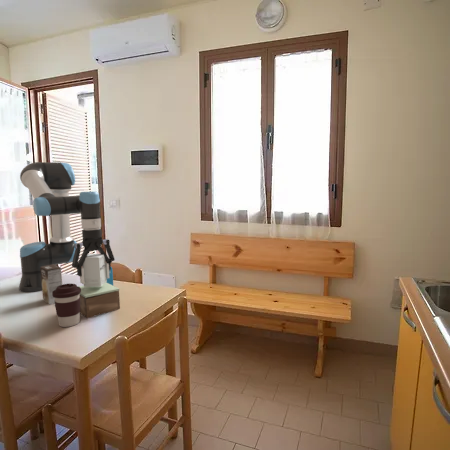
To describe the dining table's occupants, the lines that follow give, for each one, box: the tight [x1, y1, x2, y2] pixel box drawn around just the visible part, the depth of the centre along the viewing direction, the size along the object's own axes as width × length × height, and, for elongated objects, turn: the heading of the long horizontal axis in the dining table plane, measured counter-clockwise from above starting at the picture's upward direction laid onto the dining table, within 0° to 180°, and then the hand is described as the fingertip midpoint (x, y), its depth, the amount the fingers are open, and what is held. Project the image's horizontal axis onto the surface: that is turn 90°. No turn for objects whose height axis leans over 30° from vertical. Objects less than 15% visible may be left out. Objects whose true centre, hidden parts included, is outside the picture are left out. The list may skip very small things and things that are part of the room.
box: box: [80, 290, 121, 319], centre depth 140 cm, size 14×14×8 cm
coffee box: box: [40, 264, 63, 305], centre depth 151 cm, size 9×6×16 cm
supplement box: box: [82, 253, 107, 287], centre depth 138 cm, size 7×7×13 cm
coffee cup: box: [52, 283, 81, 328], centre depth 125 cm, size 10×10×15 cm
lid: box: [77, 282, 120, 298], centre depth 139 cm, size 15×14×1 cm
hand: (95, 280), depth 139 cm, fingers closed on supplement box, 10 cm apart
